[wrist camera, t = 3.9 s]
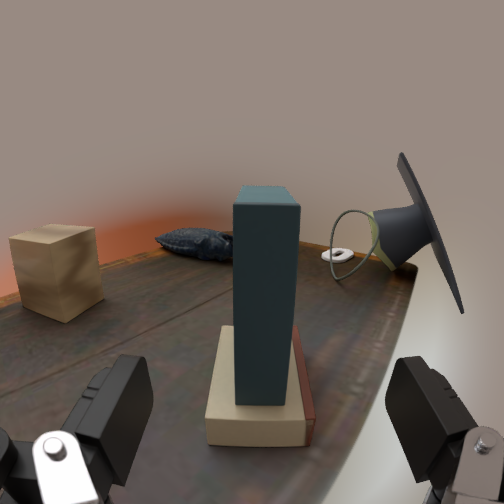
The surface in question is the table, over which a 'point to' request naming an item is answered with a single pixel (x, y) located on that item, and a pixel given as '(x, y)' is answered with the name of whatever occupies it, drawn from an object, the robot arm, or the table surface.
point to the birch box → (57, 270)
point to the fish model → (198, 243)
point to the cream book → (259, 417)
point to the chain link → (342, 258)
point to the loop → (366, 255)
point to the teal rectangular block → (264, 292)
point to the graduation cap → (410, 231)
